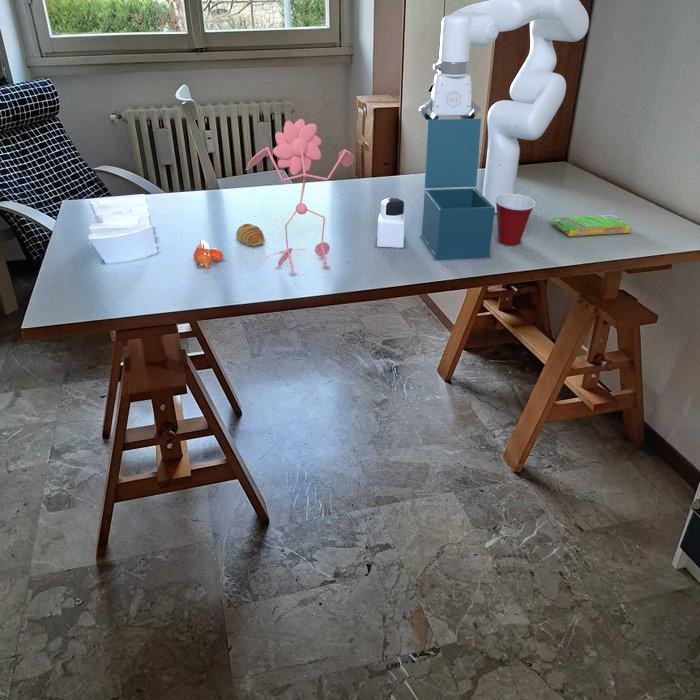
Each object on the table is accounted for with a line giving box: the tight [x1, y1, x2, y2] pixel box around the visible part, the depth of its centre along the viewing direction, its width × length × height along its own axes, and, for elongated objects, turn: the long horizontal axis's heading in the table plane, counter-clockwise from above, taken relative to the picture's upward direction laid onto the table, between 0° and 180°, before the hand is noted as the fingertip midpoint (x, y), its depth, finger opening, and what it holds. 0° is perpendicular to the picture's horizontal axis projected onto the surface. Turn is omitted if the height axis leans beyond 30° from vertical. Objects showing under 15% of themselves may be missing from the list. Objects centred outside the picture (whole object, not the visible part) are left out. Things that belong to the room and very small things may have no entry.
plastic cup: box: [495, 193, 537, 247], centre depth 178 cm, size 11×11×12 cm
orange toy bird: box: [193, 239, 223, 269], centre depth 166 cm, size 5×8×12 cm
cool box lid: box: [424, 118, 482, 189], centre depth 177 cm, size 17×14×6 cm
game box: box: [549, 214, 632, 237], centre depth 190 cm, size 3×10×20 cm
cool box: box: [421, 187, 495, 261], centre depth 175 cm, size 17×14×13 cm
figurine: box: [245, 118, 355, 275], centre depth 160 cm, size 15×26×35 cm, turn 118°
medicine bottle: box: [376, 197, 407, 249], centre depth 177 cm, size 7×7×12 cm
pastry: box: [235, 223, 265, 247], centre depth 179 cm, size 9×7×4 cm
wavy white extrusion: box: [88, 193, 158, 264], centre depth 175 cm, size 35×16×10 cm, turn 15°
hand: (447, 139), depth 178 cm, fingers open, 7 cm apart
